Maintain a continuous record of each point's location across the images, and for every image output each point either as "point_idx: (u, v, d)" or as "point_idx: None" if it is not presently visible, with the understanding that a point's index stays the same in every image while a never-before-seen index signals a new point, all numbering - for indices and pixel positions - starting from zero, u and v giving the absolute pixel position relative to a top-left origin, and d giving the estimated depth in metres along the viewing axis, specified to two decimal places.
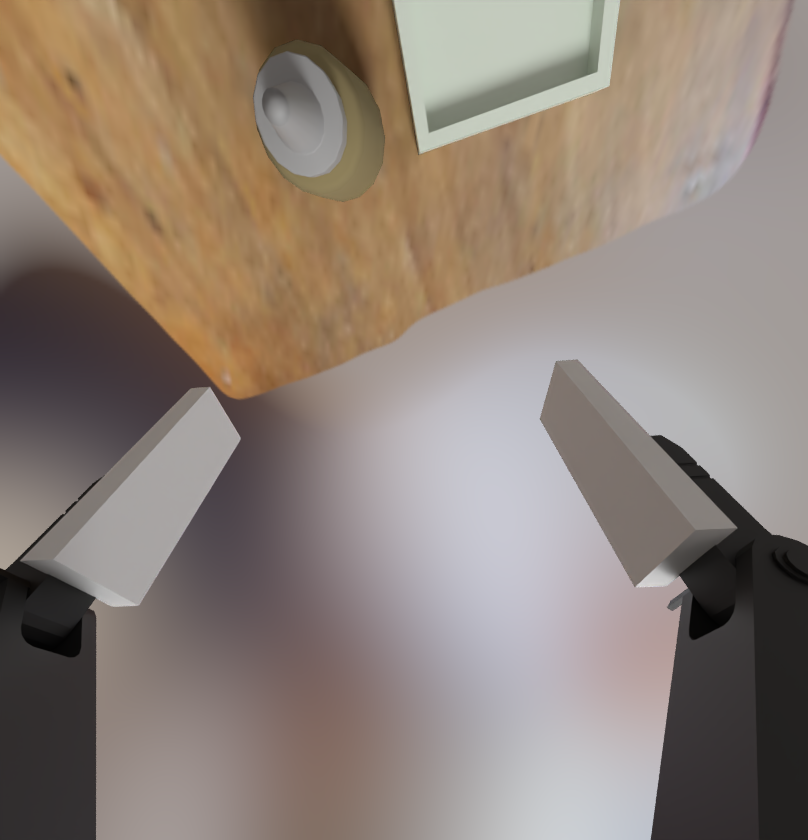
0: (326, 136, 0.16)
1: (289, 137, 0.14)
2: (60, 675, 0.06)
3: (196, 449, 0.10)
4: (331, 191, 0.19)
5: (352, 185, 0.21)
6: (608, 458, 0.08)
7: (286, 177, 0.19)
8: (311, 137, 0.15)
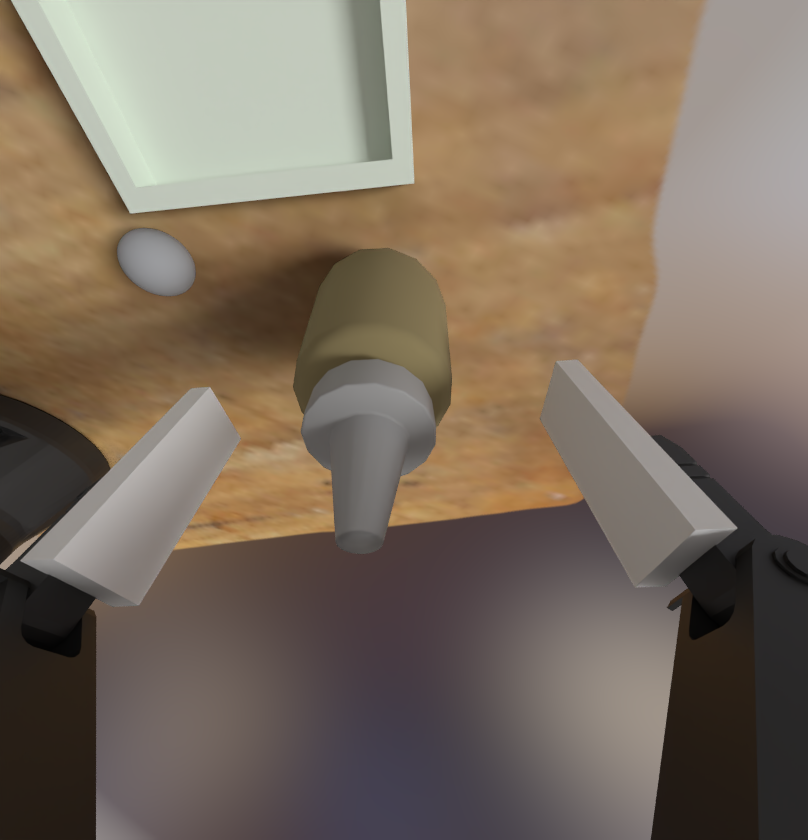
0: (394, 414, 0.09)
1: (393, 502, 0.08)
2: (60, 675, 0.06)
3: (196, 449, 0.10)
4: (450, 391, 0.12)
5: (445, 343, 0.13)
6: (608, 458, 0.08)
7: None
8: (394, 451, 0.09)
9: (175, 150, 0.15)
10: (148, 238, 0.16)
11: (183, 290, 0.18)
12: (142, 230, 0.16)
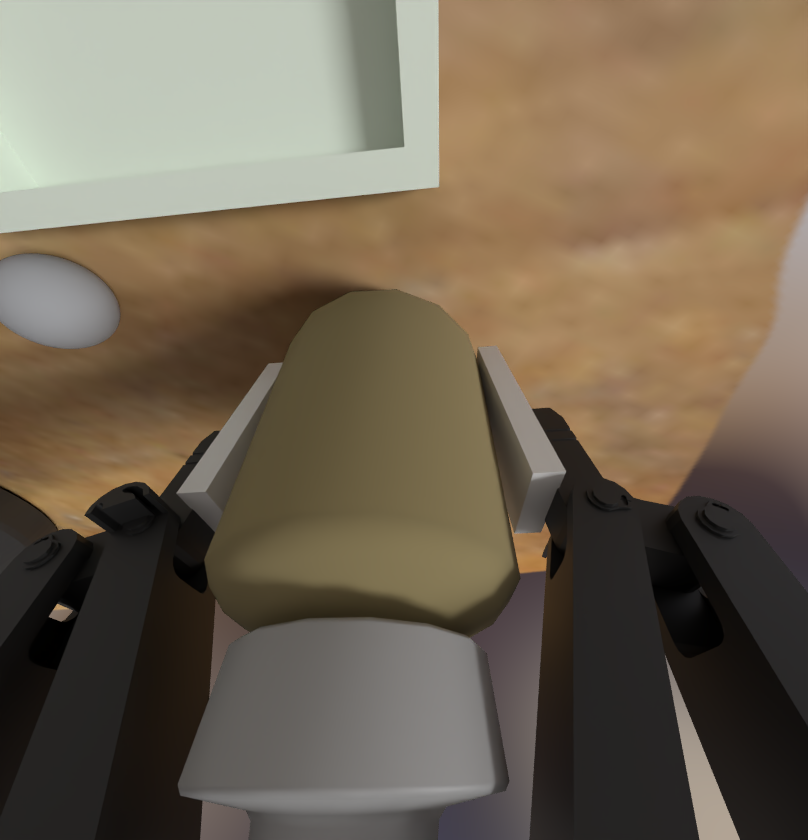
0: (409, 811, 0.03)
1: None
2: (193, 608, 0.07)
3: None
4: (512, 590, 0.06)
5: (498, 482, 0.07)
6: (500, 426, 0.09)
7: None
8: None
9: (59, 134, 0.10)
10: (27, 270, 0.10)
11: (98, 340, 0.13)
12: (20, 258, 0.11)
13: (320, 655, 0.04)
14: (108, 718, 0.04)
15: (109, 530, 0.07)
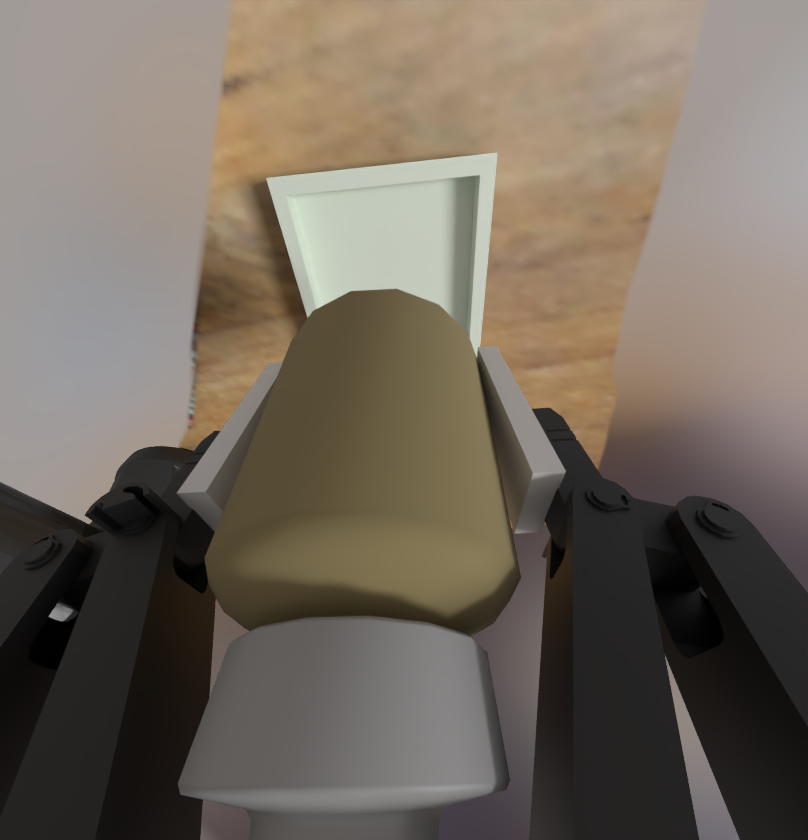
0: (409, 810, 0.03)
1: None
2: (193, 608, 0.07)
3: None
4: (513, 589, 0.06)
5: (498, 481, 0.07)
6: (500, 426, 0.09)
7: None
8: None
9: None
10: None
11: None
12: None
13: (320, 654, 0.04)
14: (109, 718, 0.04)
15: (109, 530, 0.07)
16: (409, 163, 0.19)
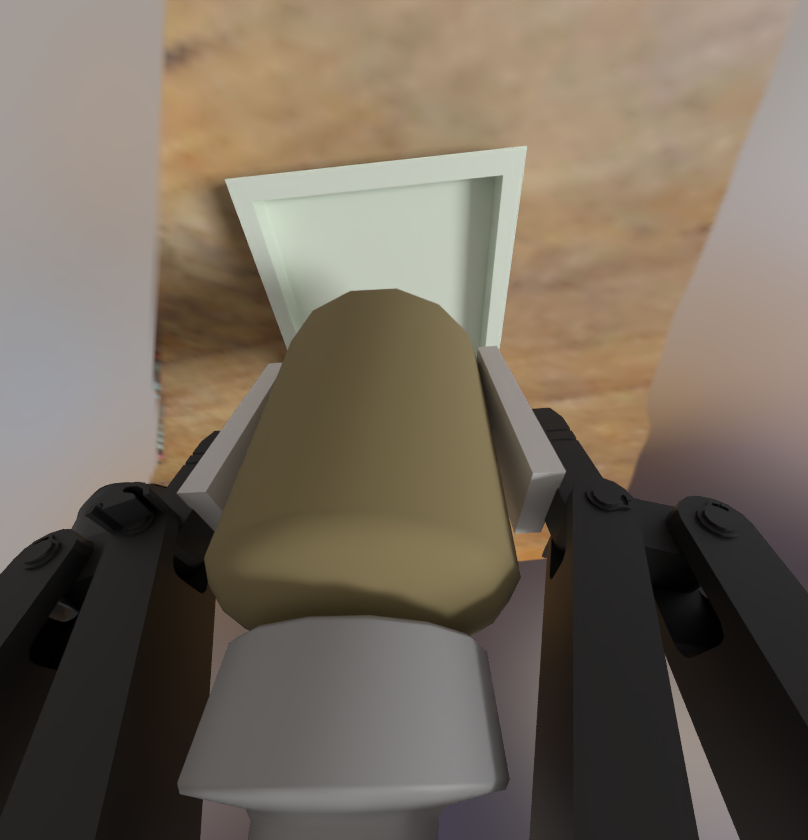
0: (409, 809, 0.03)
1: None
2: (193, 608, 0.07)
3: None
4: (512, 589, 0.06)
5: (498, 481, 0.07)
6: (500, 426, 0.09)
7: None
8: None
9: None
10: None
11: None
12: None
13: (320, 653, 0.04)
14: (107, 719, 0.04)
15: (109, 530, 0.07)
16: (411, 160, 0.14)
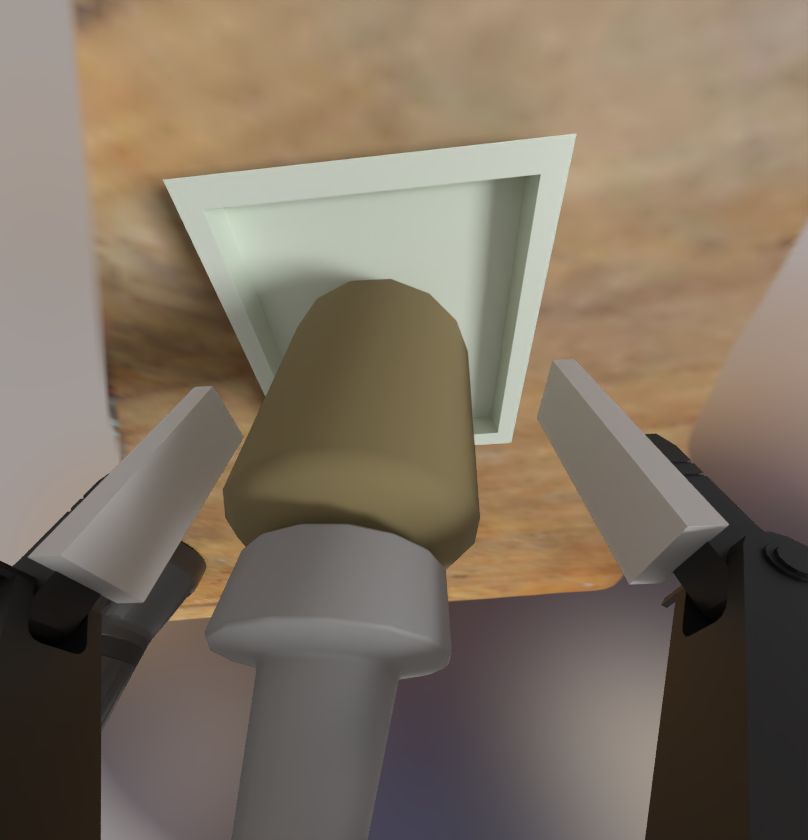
0: (370, 654, 0.05)
1: None
2: (66, 671, 0.06)
3: (200, 447, 0.10)
4: (475, 530, 0.07)
5: (469, 443, 0.08)
6: (603, 456, 0.08)
7: None
8: (365, 754, 0.04)
9: None
10: None
11: None
12: None
13: (309, 544, 0.05)
14: None
15: None
16: (416, 153, 0.10)
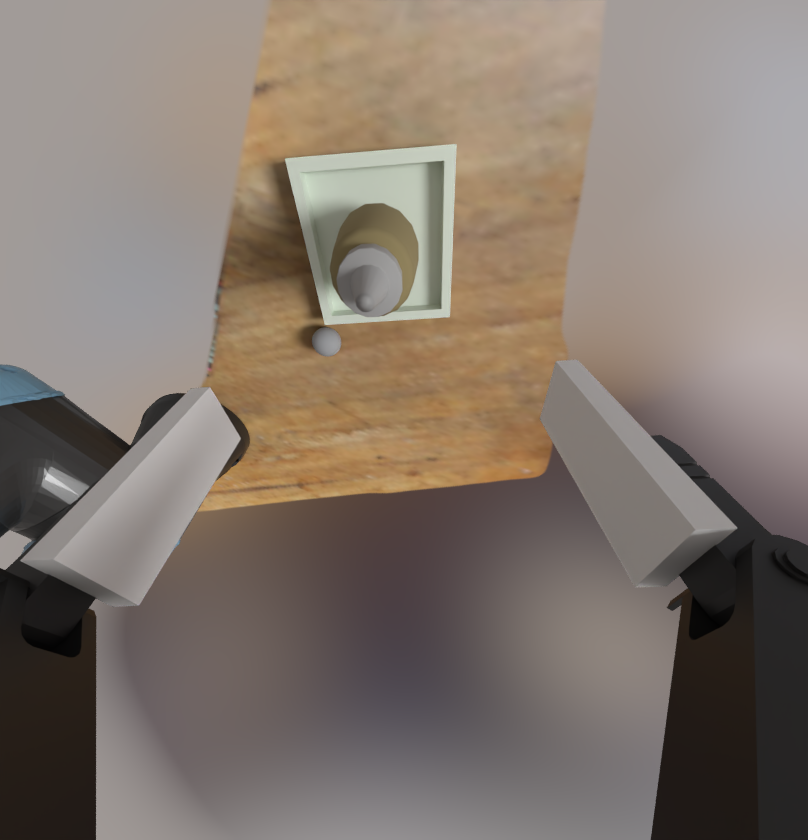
0: (381, 267, 0.20)
1: (379, 298, 0.19)
2: (60, 675, 0.06)
3: (196, 449, 0.10)
4: (413, 273, 0.22)
5: (411, 250, 0.23)
6: (608, 458, 0.08)
7: (397, 307, 0.24)
8: (381, 280, 0.19)
9: None
10: (329, 334, 0.36)
11: (335, 353, 0.38)
12: (326, 330, 0.36)
13: (365, 244, 0.20)
14: None
15: None
16: (391, 150, 0.25)
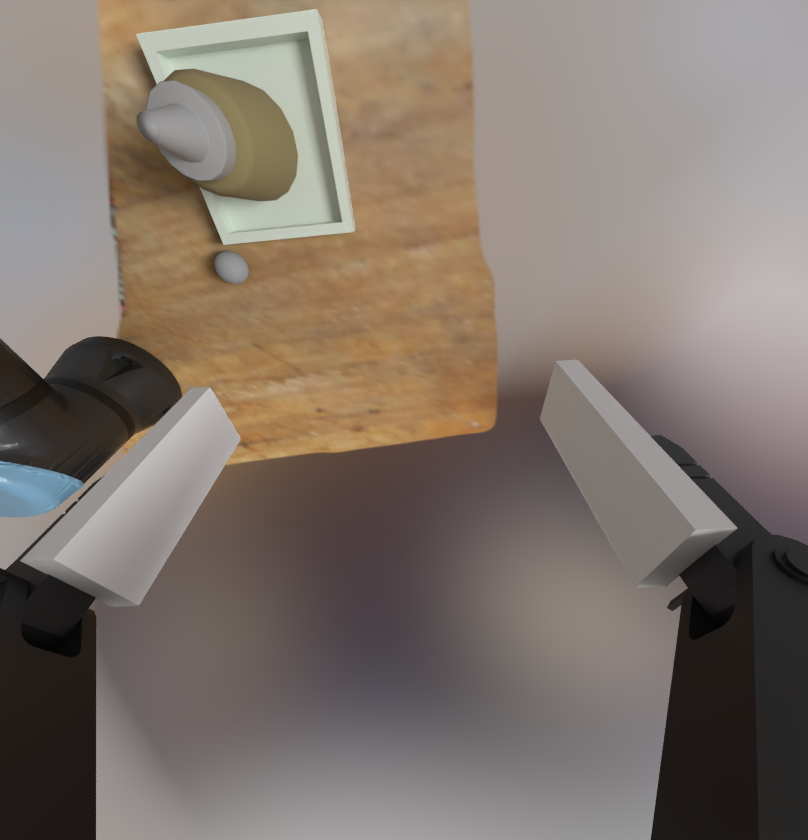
0: (190, 106, 0.18)
1: (179, 133, 0.17)
2: (60, 675, 0.06)
3: (196, 449, 0.10)
4: (251, 134, 0.21)
5: (255, 114, 0.21)
6: (608, 458, 0.08)
7: (247, 182, 0.22)
8: (185, 117, 0.17)
9: (245, 216, 0.33)
10: (230, 255, 0.34)
11: (243, 281, 0.36)
12: (227, 252, 0.34)
13: None
14: None
15: None
16: (248, 19, 0.23)
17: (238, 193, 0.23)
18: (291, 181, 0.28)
